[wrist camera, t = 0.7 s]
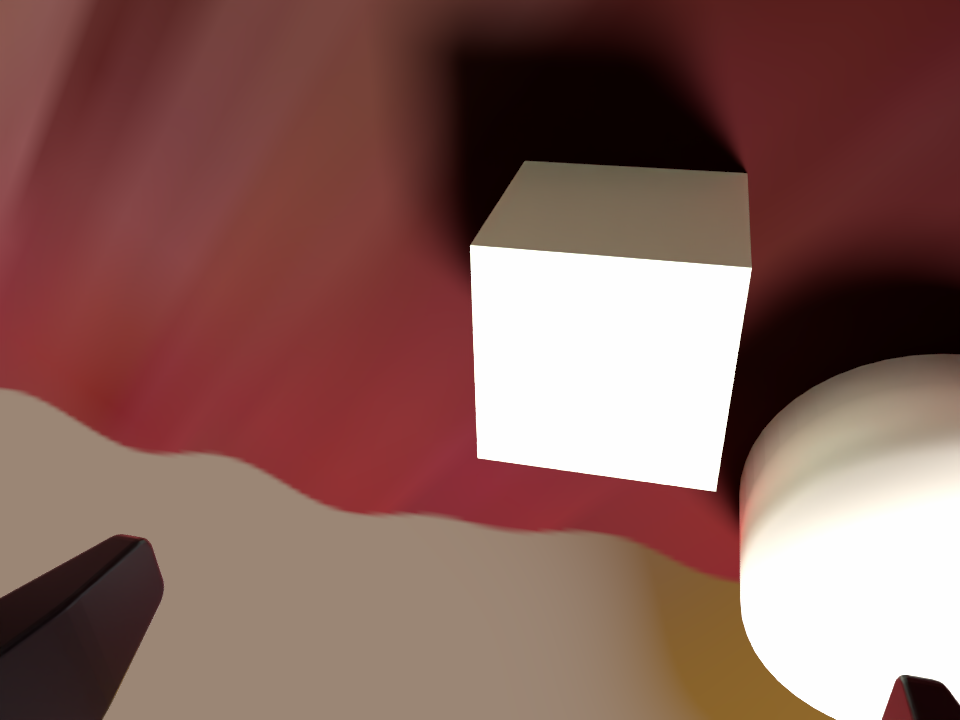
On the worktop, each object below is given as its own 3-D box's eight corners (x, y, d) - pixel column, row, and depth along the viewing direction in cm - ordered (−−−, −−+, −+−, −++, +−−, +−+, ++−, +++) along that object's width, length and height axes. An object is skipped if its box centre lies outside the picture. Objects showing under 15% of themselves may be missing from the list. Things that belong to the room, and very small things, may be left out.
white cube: (747, 172, 18) (751, 267, 14) (719, 363, 21) (715, 491, 17) (525, 159, 19) (470, 244, 15) (524, 343, 22) (478, 458, 18)
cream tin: (1194, 373, 18) (1296, 490, 15) (1055, 646, 23) (1109, 781, 20) (766, 331, 20) (773, 426, 17) (720, 590, 25) (718, 703, 22)
